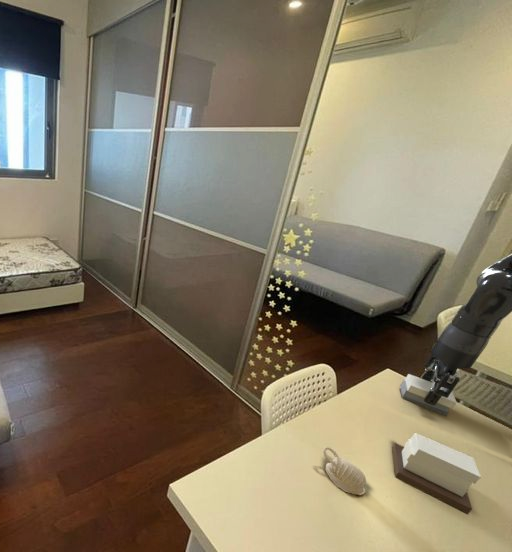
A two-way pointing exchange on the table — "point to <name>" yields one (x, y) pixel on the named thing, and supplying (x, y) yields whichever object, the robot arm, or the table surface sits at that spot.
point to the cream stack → (436, 470)
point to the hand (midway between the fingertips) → (425, 393)
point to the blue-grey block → (422, 400)
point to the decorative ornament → (345, 474)
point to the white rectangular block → (427, 390)
